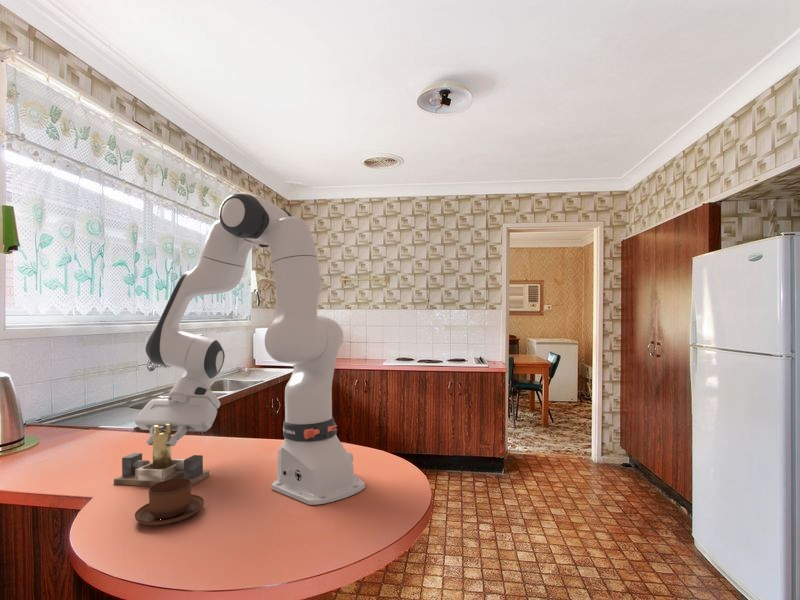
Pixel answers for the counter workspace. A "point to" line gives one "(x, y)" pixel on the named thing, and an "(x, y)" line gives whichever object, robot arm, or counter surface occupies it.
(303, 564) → the counter surface
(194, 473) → the shaft stand
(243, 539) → the counter surface
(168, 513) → the cup and saucer
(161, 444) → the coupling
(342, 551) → the counter surface
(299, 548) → the counter surface
